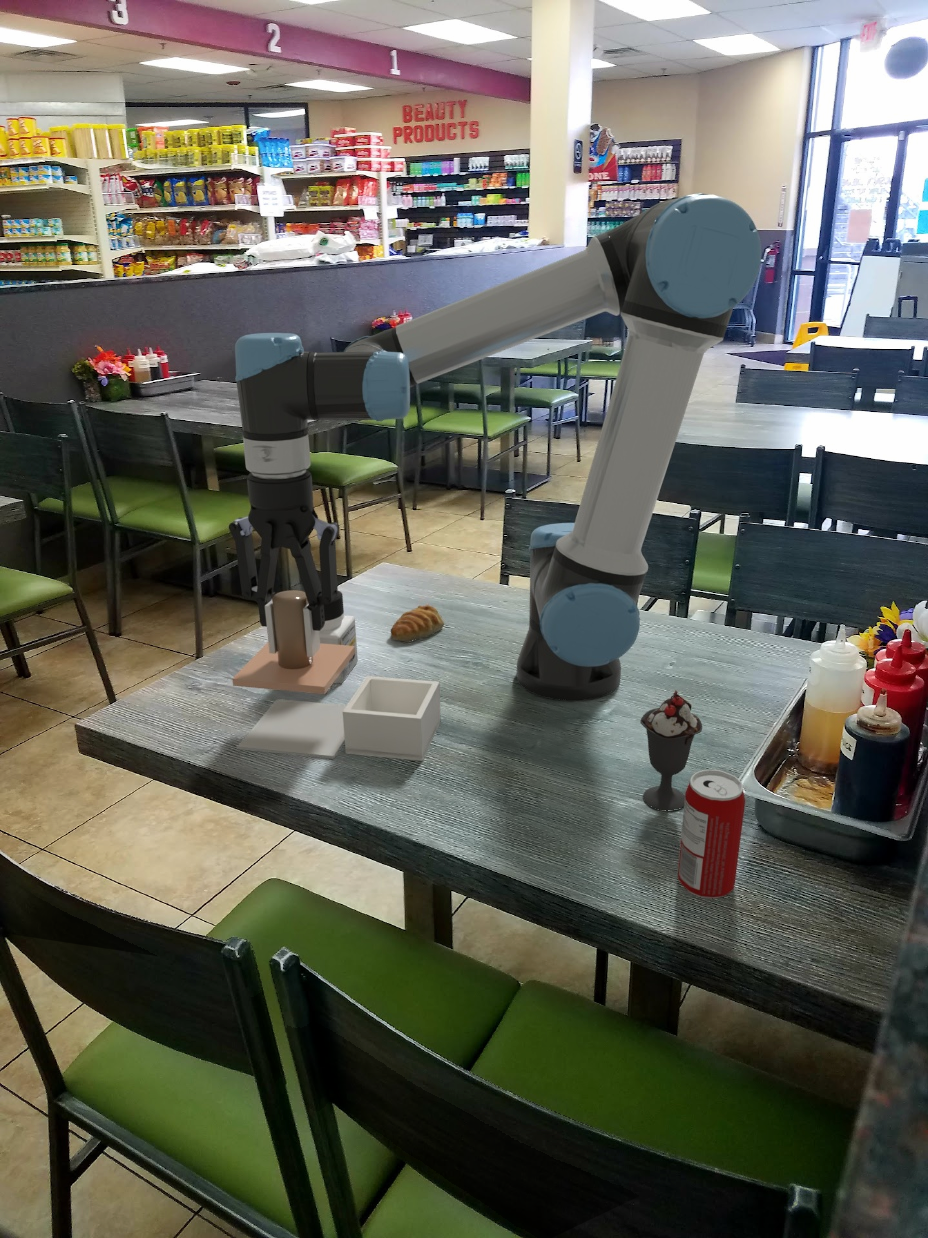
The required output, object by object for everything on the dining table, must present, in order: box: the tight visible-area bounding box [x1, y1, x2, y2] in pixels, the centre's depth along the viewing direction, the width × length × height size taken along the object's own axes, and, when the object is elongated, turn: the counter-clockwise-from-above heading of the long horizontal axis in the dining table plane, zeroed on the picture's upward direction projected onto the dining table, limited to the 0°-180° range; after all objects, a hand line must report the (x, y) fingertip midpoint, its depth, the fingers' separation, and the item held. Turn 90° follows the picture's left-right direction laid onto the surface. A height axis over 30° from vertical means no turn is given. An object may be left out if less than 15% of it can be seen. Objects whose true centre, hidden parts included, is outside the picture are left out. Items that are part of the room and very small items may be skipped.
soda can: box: [677, 769, 746, 900], centre depth 88 cm, size 6×6×12 cm
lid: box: [231, 589, 355, 695], centre depth 114 cm, size 12×12×10 cm
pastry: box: [390, 604, 445, 643], centre depth 148 cm, size 9×7×4 cm
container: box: [302, 588, 359, 684], centre depth 133 cm, size 8×8×13 cm
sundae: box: [639, 690, 703, 812], centre depth 101 cm, size 7×7×15 cm
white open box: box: [343, 675, 442, 762], centre depth 116 cm, size 10×10×6 cm
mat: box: [236, 698, 347, 760], centre depth 120 cm, size 13×13×1 cm
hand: (294, 650), depth 115 cm, fingers closed on lid, 4 cm apart
